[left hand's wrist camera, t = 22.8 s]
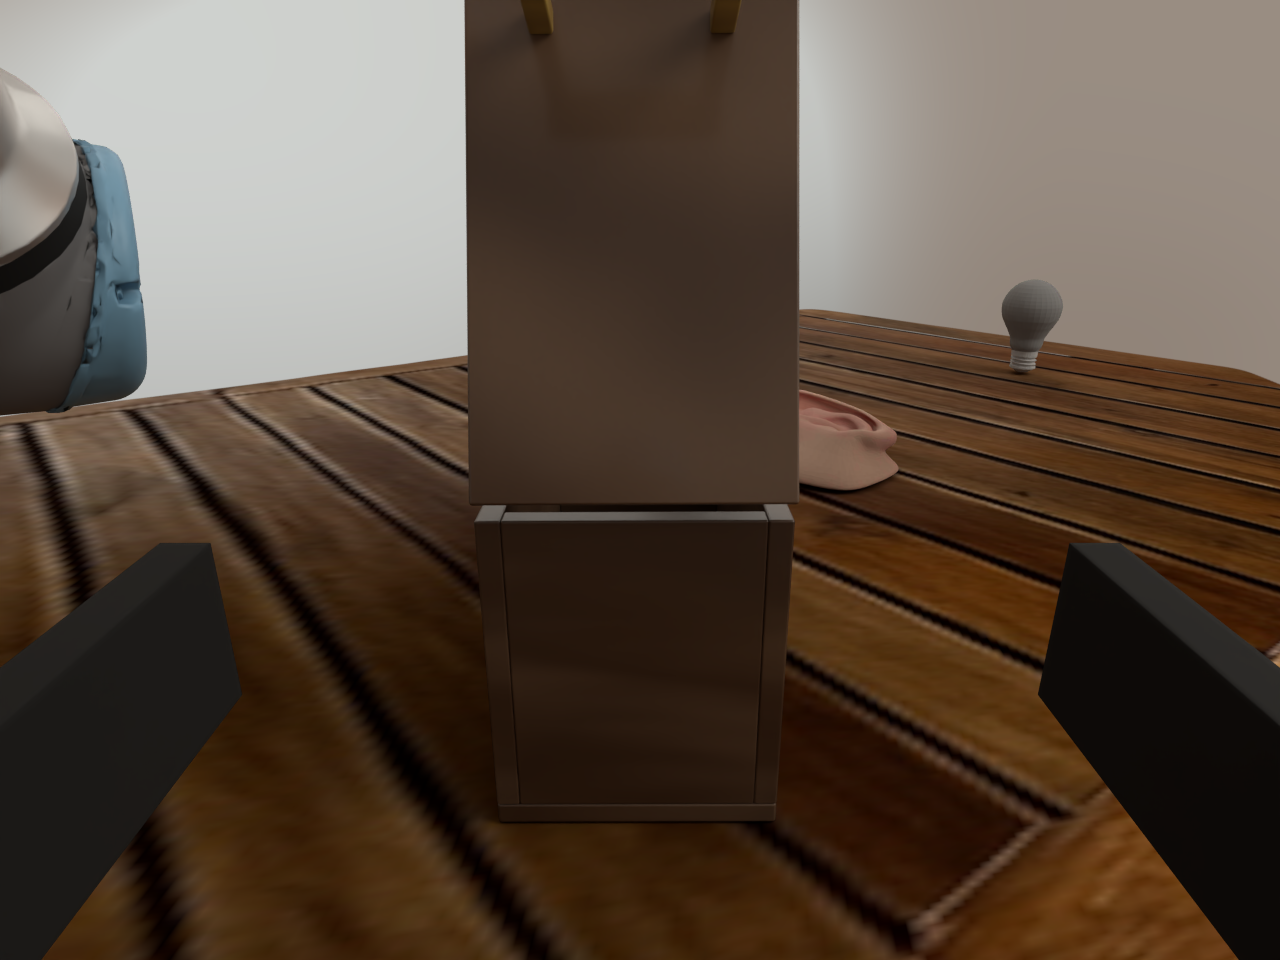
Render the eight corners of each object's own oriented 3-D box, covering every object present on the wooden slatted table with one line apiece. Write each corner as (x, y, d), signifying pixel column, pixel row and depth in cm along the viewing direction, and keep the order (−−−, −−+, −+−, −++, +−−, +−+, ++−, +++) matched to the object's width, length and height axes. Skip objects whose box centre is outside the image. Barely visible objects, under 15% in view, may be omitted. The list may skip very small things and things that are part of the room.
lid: (470, -80, 24) (383, -349, 16) (793, -82, 24) (868, -354, 16) (475, 503, 24) (393, 524, 16) (793, 502, 24) (866, 522, 16)
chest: (550, 591, 43) (540, 386, 39) (727, 590, 43) (735, 385, 39) (498, 822, 28) (473, 521, 24) (775, 822, 28) (795, 520, 24)
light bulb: (1001, 376, 88) (1015, 283, 85) (986, 364, 94) (999, 276, 90) (1059, 377, 88) (1076, 283, 84) (1040, 366, 93) (1055, 276, 90)
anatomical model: (893, 442, 54) (727, 423, 58) (887, 498, 55) (725, 476, 59) (914, 396, 65) (774, 383, 69) (909, 443, 66) (771, 428, 71)
